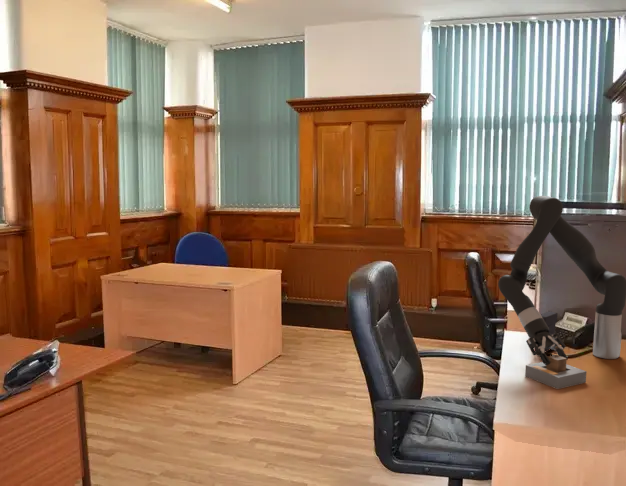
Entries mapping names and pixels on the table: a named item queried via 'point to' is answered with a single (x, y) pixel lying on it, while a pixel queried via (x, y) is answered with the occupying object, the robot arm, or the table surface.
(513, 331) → the table surface
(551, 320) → the black slab
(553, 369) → the walnut peg
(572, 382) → the socket block
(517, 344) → the table surface
